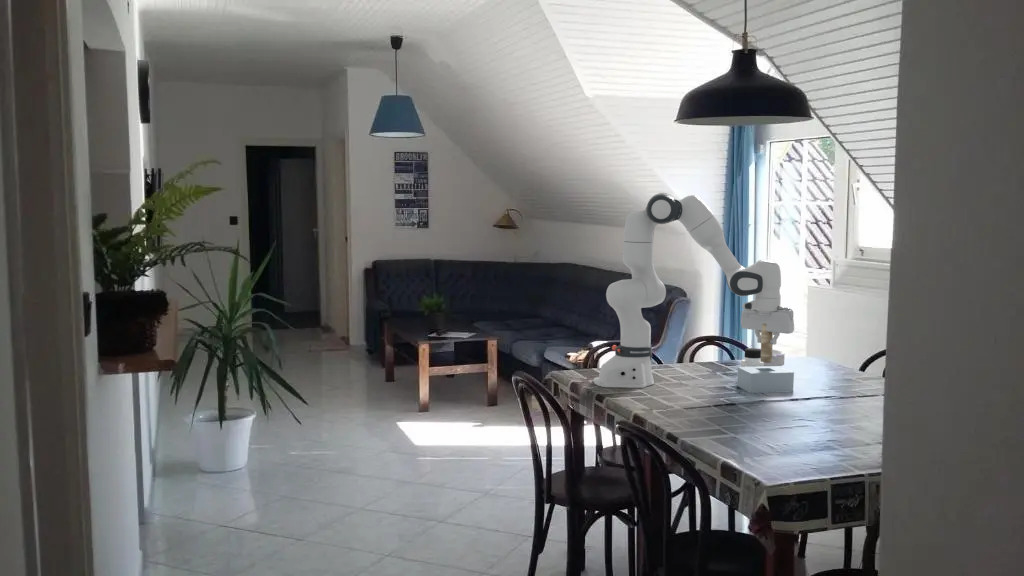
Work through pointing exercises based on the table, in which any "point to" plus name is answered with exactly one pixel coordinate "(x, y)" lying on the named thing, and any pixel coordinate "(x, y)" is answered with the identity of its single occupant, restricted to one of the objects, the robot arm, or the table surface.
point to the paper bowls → (776, 358)
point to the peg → (766, 345)
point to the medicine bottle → (752, 358)
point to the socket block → (765, 379)
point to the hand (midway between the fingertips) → (766, 343)
